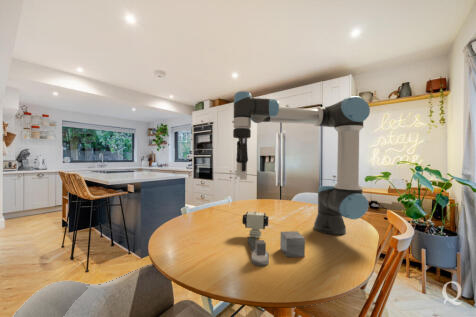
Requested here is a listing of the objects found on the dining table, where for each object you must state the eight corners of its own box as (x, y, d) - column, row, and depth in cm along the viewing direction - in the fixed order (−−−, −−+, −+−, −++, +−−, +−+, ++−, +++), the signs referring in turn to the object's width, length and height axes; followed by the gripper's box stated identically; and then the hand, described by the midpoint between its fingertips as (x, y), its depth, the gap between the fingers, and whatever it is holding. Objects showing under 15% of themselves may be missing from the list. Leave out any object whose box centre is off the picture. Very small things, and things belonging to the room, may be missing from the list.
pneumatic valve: (267, 240, 90) (268, 213, 90) (241, 237, 92) (242, 211, 92) (268, 235, 95) (268, 210, 95) (244, 233, 97) (244, 208, 97)
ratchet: (258, 241, 87) (258, 225, 88) (270, 266, 68) (271, 245, 68) (244, 242, 87) (244, 226, 87) (253, 266, 67) (253, 245, 67)
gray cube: (296, 248, 82) (297, 231, 82) (304, 256, 75) (304, 237, 75) (280, 249, 81) (280, 231, 81) (286, 257, 74) (286, 238, 74)
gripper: (231, 132, 99) (230, 175, 98) (236, 123, 74) (235, 180, 74) (246, 132, 99) (245, 175, 99) (256, 124, 75) (255, 181, 74)
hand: (241, 178), depth 86 cm, fingers open, 13 cm apart
